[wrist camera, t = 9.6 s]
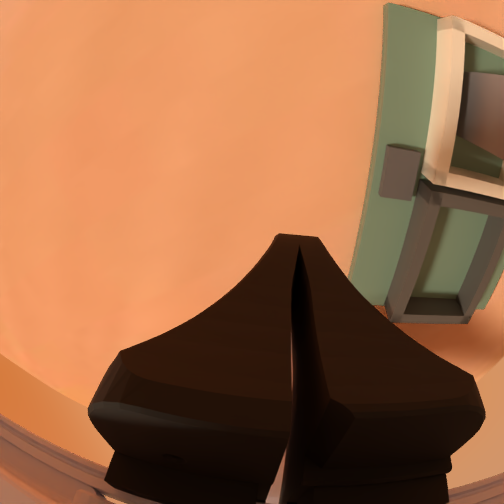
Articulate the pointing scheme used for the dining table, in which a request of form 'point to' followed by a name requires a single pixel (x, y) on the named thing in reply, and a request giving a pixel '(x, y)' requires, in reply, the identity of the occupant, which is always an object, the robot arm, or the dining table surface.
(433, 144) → the board
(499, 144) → the plug
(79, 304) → the dining table surface
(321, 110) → the dining table surface
